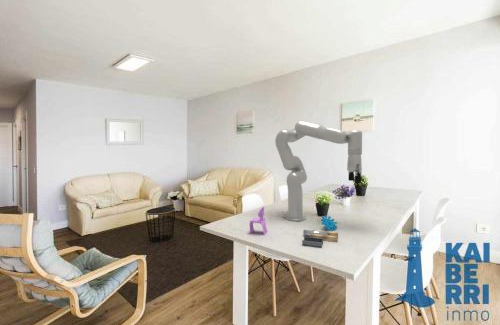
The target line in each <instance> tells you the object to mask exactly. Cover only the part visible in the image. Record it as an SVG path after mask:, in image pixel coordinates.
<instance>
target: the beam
mask: <svg viewBox="0 0 500 325" xmlns="http://www.w3.org/2000/svg"><path fill="white" fill-rule="evenodd" d="M312 231H318V230H316V229H312ZM321 231H322V232H328V236H327V235H318V234H311V235H310V237H315V238H323V242H324V241H325V242H334V243H338V240H339V232H337V231H328V230H326V231H324V230H321Z"/></svg>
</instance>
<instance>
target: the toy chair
mask: <svg viewBox="0 0 500 325" xmlns="http://www.w3.org/2000/svg"><path fill="white" fill-rule="evenodd" d="M264 215H265V207H264V206H261V208H260V209H259V210H258V215H257V216H258V217H253V218H252V219H251V220H250V221H249V234H250V235H251V234H253V232H255V228H254V223H255V224H256V223H257V224H260V225H261V226H262V231H263V232H262V233H263V236H265V235H267V233H268V232H269V231H268V228H267V223H266V222H267V221H266V219H265V218H264Z"/></svg>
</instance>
